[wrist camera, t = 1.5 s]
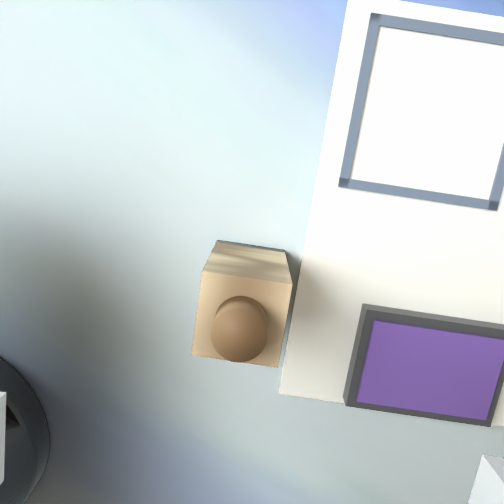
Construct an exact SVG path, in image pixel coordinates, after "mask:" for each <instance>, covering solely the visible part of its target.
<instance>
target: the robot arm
mask: <svg viewBox="0 0 504 504" xmlns="http://www.w3.org/2000/svg"><path fill="white" fill-rule="evenodd" d="M49 444H50V439H49V430H48V424H47V420H46V417H45V414H44V411H43V409H42V406H41V404H40V402H39V400H38V398H37V397H36V395H35V393H34V392H33V390H32V389H31V387H30V386H29V385H28V383H27V382H26V381H25V380H24V379H23V378H22V376H21V375H20V374H19V373H18V372H17V371H16V370H15V369H13V368H12V367H11V366H10V365H9V364H8V363H6V362H5V361H3V360H2V359H1V358H0V504H24V502H25V501H26V500H27V498H28V497H29V495H30V494H31V492H32V491H33V489H34V488H35V486H36V485H37V483H38V482H39V480H40V478H41V476H42V474H43V472H44V470H45V467H46V464H47V460H48V455H49ZM468 504H504V457H497V456H489V455H482V457H481V461H480V464H479V468H478V471H477V475H476V478H475V482H474V485H473V488H472V492H471V495H470V499H469V502H468Z"/></svg>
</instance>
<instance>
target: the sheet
mask: <svg viewBox="0 0 504 504" xmlns="http://www.w3.org/2000/svg"><path fill="white" fill-rule="evenodd" d="M362 303H364V304H371V305H377V306H384V307H391V308H398V309H404V310H411V311H418V312H424V313H431V314H438V315H445V316H451V317H458V318H465V319H471V320H478V321H485V322H492V323H498V324H504V17H499V16H493V15H487V14H480V13H474V12H468V11H461V10H455V9H449V8H442V7H436V6H430V5H423V4H417V3H411V2H404V1H398V0H348V3H347V9H346V14H345V20H344V26H343V31H342V37H341V42H340V48H339V54H338V59H337V65H336V70H335V76H334V82H333V87H332V93H331V98H330V104H329V110H328V115H327V121H326V127H325V132H324V138H323V143H322V149H321V155H320V160H319V166H318V171H317V177H316V183H315V188H314V194H313V200H312V205H311V211H310V216H309V222H308V228H307V233H306V239H305V244H304V250H303V256H302V261H301V267H300V272H299V278H298V284H297V289H296V295H295V301H294V306H293V312H292V317H291V323H290V329H289V334H288V340H287V345H286V351H285V357H284V362H283V368H282V373H281V379H280V385H279V390H278V394H283V395H290V396H297V397H304V398H311V399H318V400H325V401H331V402H338V403H345V402H344V399H343V392H344V388H345V383H346V378H347V374H348V369H349V364H350V360H351V355H352V350H353V346H354V341H355V336H356V331H357V327H358V322H359V317H360V313H361V308H362ZM491 425H496V426H503V427H504V382H503V386H502V389H501V392H500V396H499V399H498V403H497V406H496V409H495V413H494V416H493V419H492V423H491Z"/></svg>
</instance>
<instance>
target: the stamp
mask: <svg viewBox="0 0 504 504" xmlns="http://www.w3.org/2000/svg"><path fill="white" fill-rule="evenodd" d="M292 285H293V284H292V280H291V276H290V271H289V267H288V263H287V259H286V255H285V251H284V250H281V249H275V248H268V247H261V246H255V245H248V244H241V243H235V242H228V241H221V240H217V242H216V244H215V246H214V248H213V250H212V252H211V254H210V256H209V258H208V260H207V262H206V264H205V266H204V268H203V270H202V275H201V283H200V291H199V299H198V306H197V314H196V322H195V329H194V337H193V345H192V353H191V355H195V356H202V357H209V358H216V359H223V360H229V361H233V362H243V363H250V364H257V365H264V366H271V367H277V368H278V365H279V359H280V353H281V348H282V342H283V336H284V331H285V325H286V319H287V313H288V308H289V302H290V296H291V291H292Z"/></svg>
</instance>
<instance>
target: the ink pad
mask: <svg viewBox="0 0 504 504" xmlns="http://www.w3.org/2000/svg"><path fill="white" fill-rule="evenodd" d="M503 382H504V324H498V323H492V322H485V321H478V320H471V319H465V318H458V317H451V316H445V315H438V314H431V313H424V312H418V311H411V310H404V309H398V308H391V307H384V306H377V305H371V304H364V303H362V308H361V313H360V317H359V322H358V327H357V331H356V336H355V341H354V346H353V350H352V355H351V360H350V364H349V369H348V374H347V378H346V383H345V388H344V392H343V399H344V402H345V405H346V406H350V407H356V408H363V409H370V410H377V411H384V412H391V413H398V414H404V415H411V416H418V417H425V418H432V419H439V420H446V421H452V422H459V423H466V424H473V425H480V426H487V427H490V426H491V423H492V419H493V416H494V413H495V409H496V406H497V403H498V399H499V396H500V392H501V389H502V386H503Z"/></svg>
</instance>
